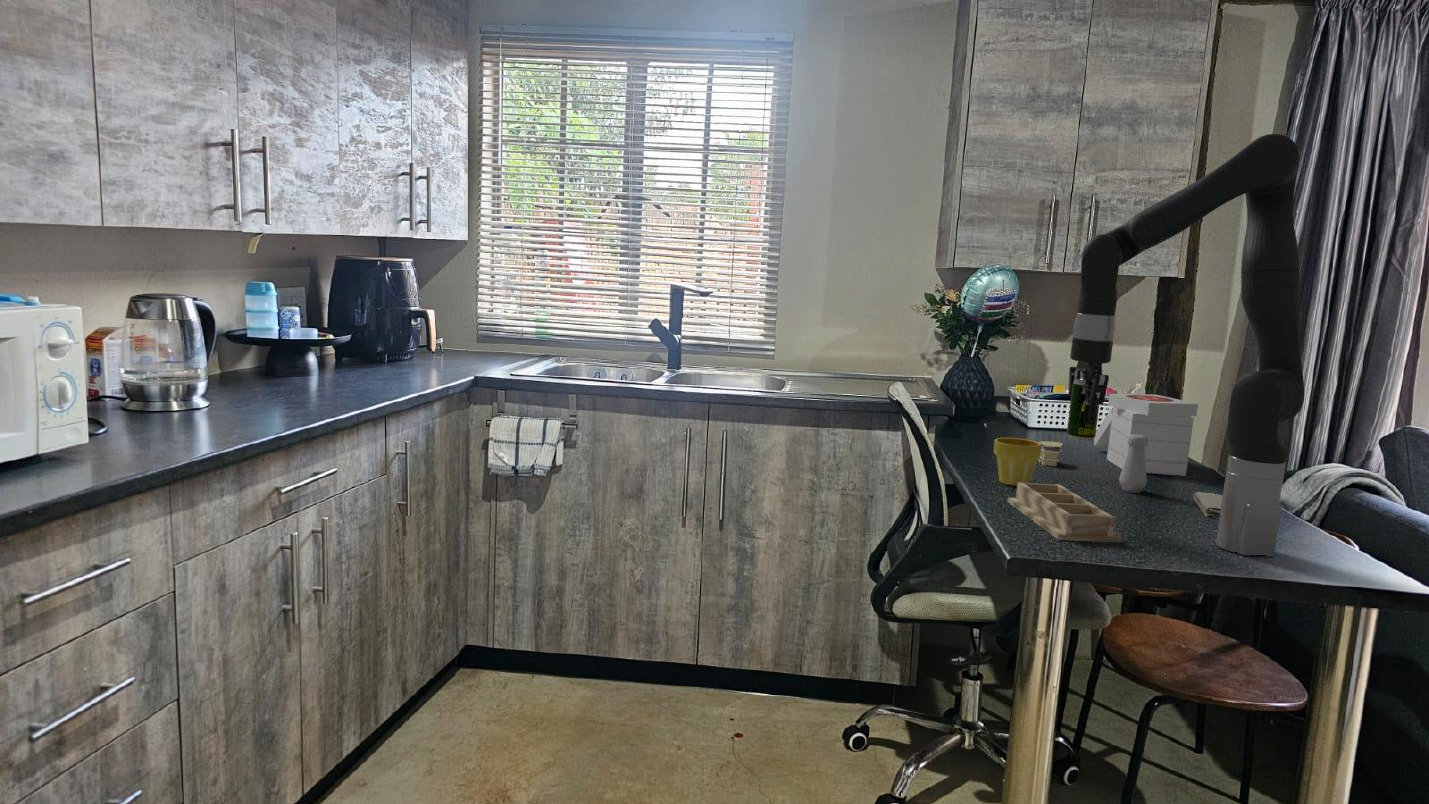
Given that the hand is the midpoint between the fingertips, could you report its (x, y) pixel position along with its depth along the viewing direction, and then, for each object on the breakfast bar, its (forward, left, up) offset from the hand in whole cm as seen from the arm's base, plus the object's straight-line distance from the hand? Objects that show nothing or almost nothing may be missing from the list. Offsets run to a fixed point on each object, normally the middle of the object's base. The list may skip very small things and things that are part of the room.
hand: (1082, 421), depth 195 cm
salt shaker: (+26, -25, -20) cm, 41 cm away
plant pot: (+28, +2, -20) cm, 34 cm away
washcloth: (+10, -39, -20) cm, 45 cm away
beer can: (0, 0, -4) cm, 4 cm away
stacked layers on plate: (+52, -16, -20) cm, 58 cm away
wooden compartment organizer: (-4, +4, -19) cm, 20 cm away
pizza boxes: (+59, -43, -20) cm, 76 cm away
